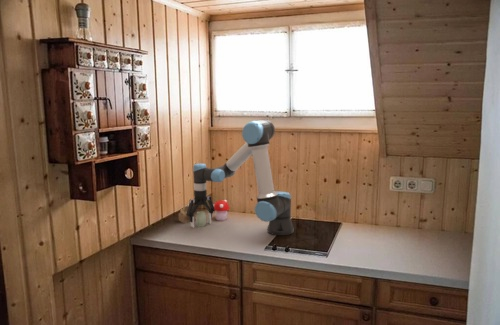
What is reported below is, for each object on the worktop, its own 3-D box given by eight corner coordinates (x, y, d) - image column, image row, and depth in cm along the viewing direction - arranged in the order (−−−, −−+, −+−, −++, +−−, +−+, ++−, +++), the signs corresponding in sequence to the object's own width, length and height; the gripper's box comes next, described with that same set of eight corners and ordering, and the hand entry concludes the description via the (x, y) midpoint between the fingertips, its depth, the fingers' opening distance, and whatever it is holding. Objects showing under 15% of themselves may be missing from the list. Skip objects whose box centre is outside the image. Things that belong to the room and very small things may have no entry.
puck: (202, 223, 262) (202, 210, 261) (207, 225, 258) (206, 212, 257) (195, 225, 259) (194, 212, 258) (199, 227, 255) (199, 214, 254)
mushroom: (217, 222, 265) (216, 203, 263) (209, 217, 274) (209, 199, 272) (232, 219, 270) (232, 201, 268) (224, 215, 279) (224, 197, 277)
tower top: (187, 211, 271) (187, 204, 270) (191, 213, 267) (191, 205, 266) (180, 213, 268) (180, 205, 267) (184, 215, 264) (184, 207, 263)
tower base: (189, 218, 274) (189, 211, 273) (195, 221, 268) (195, 213, 267) (178, 220, 269) (178, 213, 268) (184, 223, 263) (184, 215, 262)
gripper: (213, 185, 265) (214, 219, 269) (179, 191, 251) (180, 227, 255) (220, 187, 259) (220, 222, 263) (185, 193, 245) (187, 230, 249)
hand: (201, 225), depth 259 cm, fingers open, 11 cm apart
